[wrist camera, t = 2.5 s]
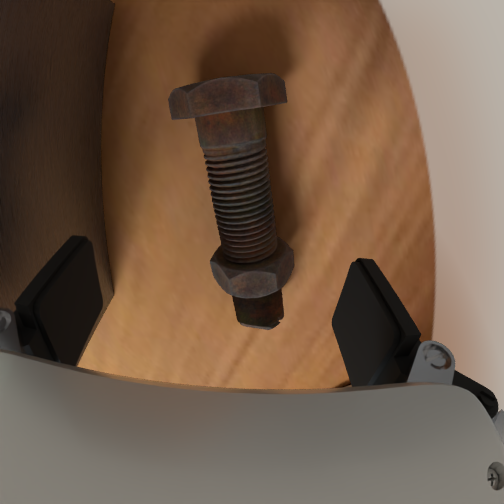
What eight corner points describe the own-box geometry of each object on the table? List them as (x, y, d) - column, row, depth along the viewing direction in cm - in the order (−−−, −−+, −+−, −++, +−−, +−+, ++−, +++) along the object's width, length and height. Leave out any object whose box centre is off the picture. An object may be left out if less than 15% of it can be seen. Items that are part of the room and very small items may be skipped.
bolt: (249, 287, 23) (216, 85, 16) (310, 300, 21) (294, 74, 14) (207, 336, 19) (145, 95, 12) (276, 359, 17) (237, 72, 9)
